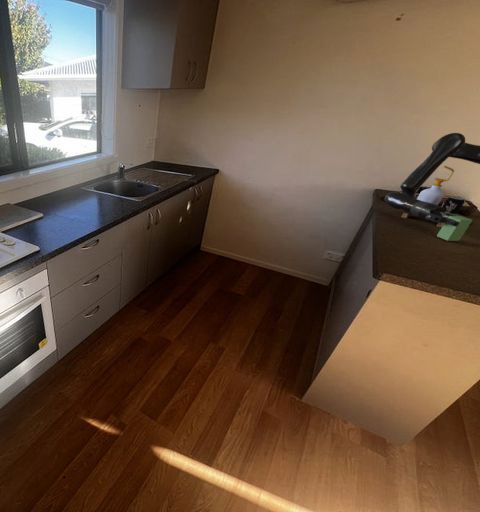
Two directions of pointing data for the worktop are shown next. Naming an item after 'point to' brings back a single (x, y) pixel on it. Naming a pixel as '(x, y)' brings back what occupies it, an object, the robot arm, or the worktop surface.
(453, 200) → the beverage can
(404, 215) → the rod rack
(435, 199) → the soap bottle
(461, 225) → the green bar
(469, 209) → the bolt
